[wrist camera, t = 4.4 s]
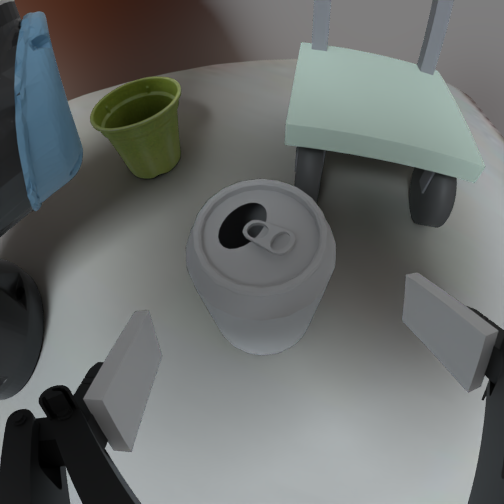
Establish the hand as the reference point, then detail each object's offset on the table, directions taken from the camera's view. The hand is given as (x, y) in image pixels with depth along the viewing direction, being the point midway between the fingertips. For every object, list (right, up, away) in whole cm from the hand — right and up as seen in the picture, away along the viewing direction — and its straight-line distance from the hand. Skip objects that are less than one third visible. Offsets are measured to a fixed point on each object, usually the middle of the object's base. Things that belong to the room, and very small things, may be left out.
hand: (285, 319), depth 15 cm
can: (-1, -2, +10) cm, 10 cm away
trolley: (+11, +13, +17) cm, 24 cm away
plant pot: (-13, +14, +19) cm, 26 cm away
